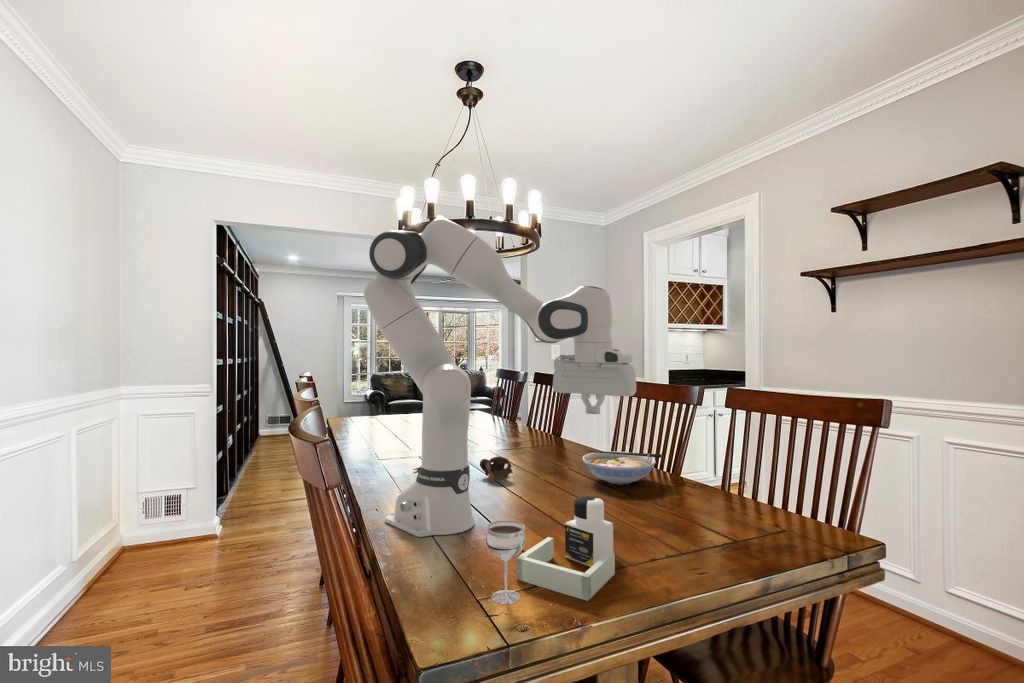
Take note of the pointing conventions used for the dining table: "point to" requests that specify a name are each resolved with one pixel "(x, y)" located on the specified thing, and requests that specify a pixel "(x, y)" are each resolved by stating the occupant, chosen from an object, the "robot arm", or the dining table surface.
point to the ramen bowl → (619, 465)
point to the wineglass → (505, 551)
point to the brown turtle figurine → (496, 468)
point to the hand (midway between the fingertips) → (592, 413)
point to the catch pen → (563, 572)
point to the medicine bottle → (588, 532)
